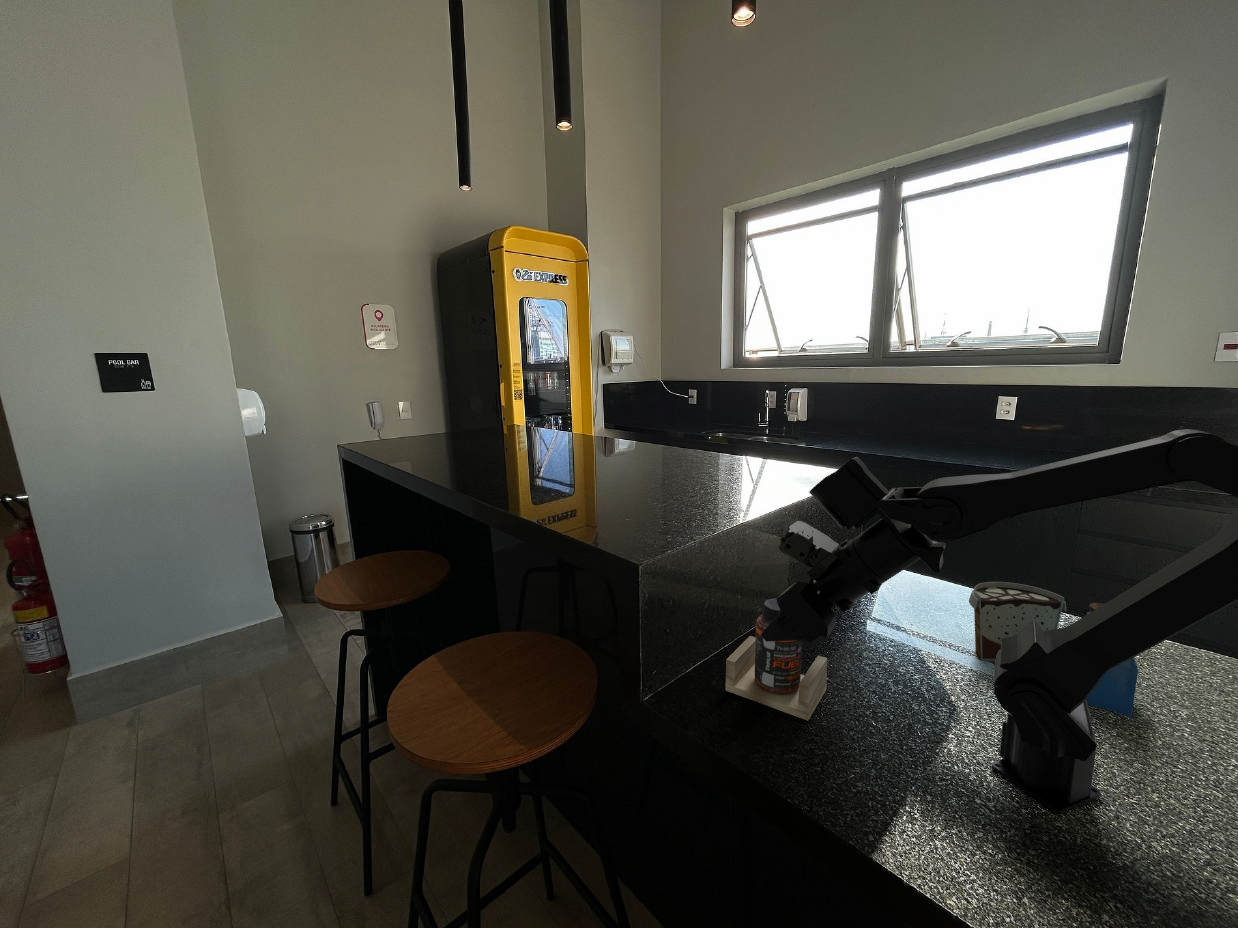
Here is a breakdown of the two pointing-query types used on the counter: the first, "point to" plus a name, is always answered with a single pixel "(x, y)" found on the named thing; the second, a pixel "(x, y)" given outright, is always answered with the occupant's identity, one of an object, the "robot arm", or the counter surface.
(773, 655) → the supplement bottle
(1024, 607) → the food container
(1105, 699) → the perfume bottle
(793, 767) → the counter surface
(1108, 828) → the counter surface
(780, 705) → the cradle
